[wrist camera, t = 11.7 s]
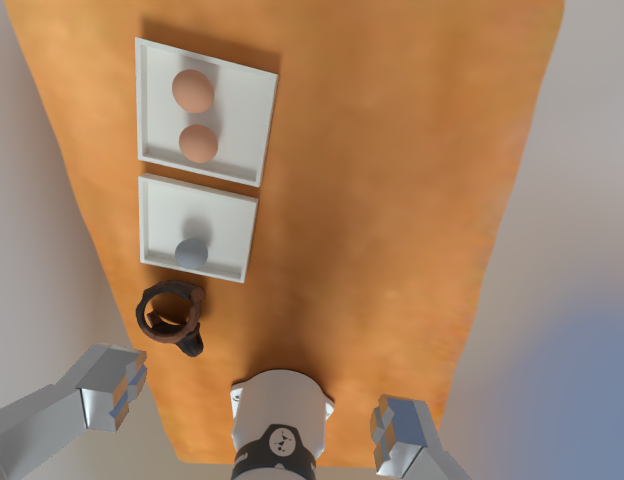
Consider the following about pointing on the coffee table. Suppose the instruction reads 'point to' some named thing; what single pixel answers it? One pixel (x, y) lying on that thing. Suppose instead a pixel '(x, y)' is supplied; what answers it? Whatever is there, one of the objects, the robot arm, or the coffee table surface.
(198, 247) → the ball grey
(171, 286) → the pottery mug
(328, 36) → the coffee table surface
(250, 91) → the dish
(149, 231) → the dish
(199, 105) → the terracotta ball
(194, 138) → the terracotta ball
